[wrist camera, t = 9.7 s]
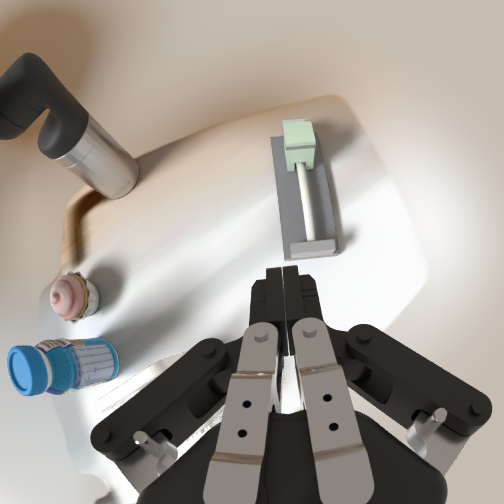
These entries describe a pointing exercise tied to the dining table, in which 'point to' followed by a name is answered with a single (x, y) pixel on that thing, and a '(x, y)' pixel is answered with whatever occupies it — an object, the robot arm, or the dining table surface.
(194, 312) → the dining table surface
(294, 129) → the notched mint block
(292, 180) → the grey slide rail
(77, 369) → the beverage bottle
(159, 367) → the white plastic stand
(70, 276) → the cupcake
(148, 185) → the dining table surface
